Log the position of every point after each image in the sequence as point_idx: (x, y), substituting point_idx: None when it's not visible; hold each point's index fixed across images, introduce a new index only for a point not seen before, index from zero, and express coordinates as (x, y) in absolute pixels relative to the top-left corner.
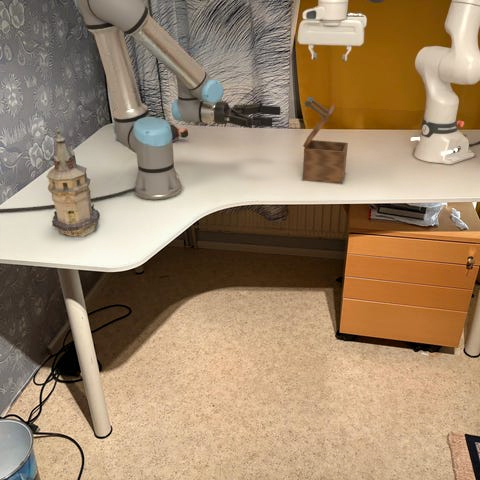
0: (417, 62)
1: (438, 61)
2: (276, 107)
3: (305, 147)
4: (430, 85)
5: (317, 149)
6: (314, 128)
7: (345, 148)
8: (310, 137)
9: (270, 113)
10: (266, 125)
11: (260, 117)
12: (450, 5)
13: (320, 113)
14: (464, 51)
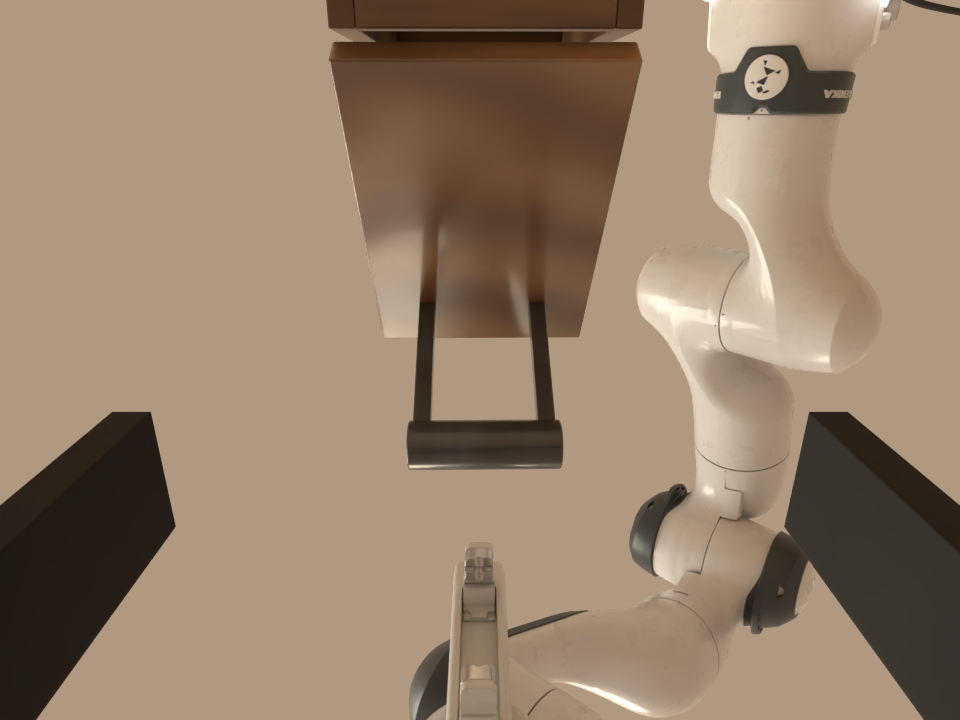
0: (818, 335)
1: (724, 330)
2: (816, 558)
3: (331, 49)
4: (753, 253)
5: (367, 41)
6: (587, 174)
7: None
8: (349, 163)
9: (910, 531)
10: (60, 472)
11: (38, 682)
12: (756, 464)
13: (418, 339)
14: (668, 343)
